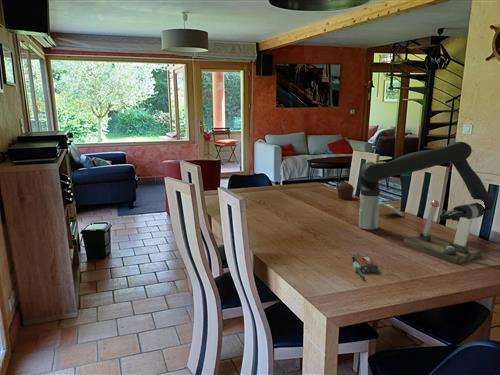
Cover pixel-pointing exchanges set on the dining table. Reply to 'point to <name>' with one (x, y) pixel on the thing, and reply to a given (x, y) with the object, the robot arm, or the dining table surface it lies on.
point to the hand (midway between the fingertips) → (441, 217)
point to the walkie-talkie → (364, 264)
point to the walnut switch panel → (442, 248)
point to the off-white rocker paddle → (462, 232)
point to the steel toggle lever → (430, 217)
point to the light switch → (391, 208)
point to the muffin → (345, 191)
